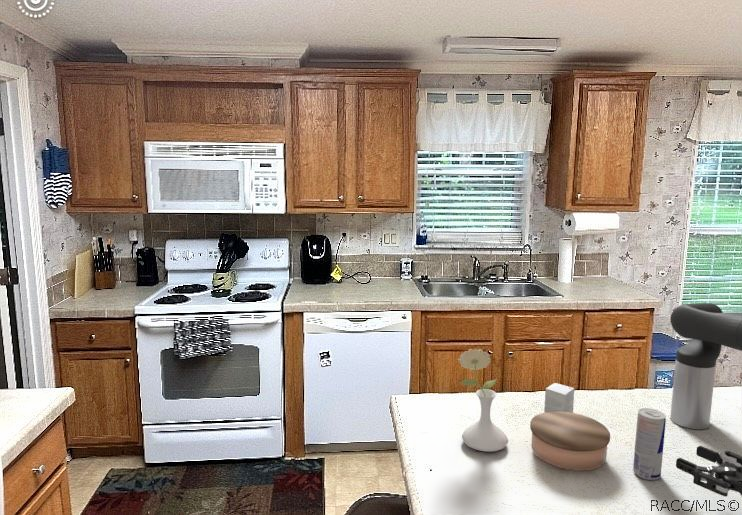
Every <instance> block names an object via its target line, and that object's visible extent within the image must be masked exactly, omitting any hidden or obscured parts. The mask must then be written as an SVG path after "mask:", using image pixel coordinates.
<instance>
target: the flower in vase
mask: <svg viewBox="0 0 742 515" xmlns="http://www.w3.org/2000/svg"><path fill="white" fill-rule="evenodd" d="M457 360H458V362H459V364H460V366H461V367H462V368H463V369H465V370H466V369H468V370H469V371H474V378H475V380H473V379H471V378H466V379H464V380H462V381H461V382H460V383H459V385H464V386H468V387H473V386H475V385H476V384H477V385H478V387H479V388H480V389H477V390H476V391H475V394H476V396H477V397H478V400H479V402H480V418H479V420H478V421H476V422H474V423H472V424H471V425H469V426H468V427H466V428H465V429H464V431H463V432H462V434H461V438H462V439H461V440H463V442H464V444H465V445H467V446H468V447H469V448H470V449H474V450H476V451H481V452H487V453H488V452H497V451H501V450H503V449H504V448H505V447H506V446H507V445H508V444H509V443H508V442H509V439H508V436H507V434H506V433H505V431H504V430H502V429H501V428H500V427H499V426H497V424H495V423H494V422H492V419H491V407H492V402H493V401H494V399H495V398H496V396H497V392H496V391H494V390H492V389H491V388H493V387H494V386H495V385H496V384H497V380H498V379H497V378H495V379H493V380H488V381H485V383H484V384H483V385H482V386H481V385H480V383H479V382H478V379H477V378H478V377H477V370H482V369H485V368H487V366H489V364H490V363H491V362H492V361H491V357H490V354H489V353H488V352H487V351H483V349H482V348H479V349H478V348H474V349H472V348H469V349H468V351H467V350H464V352H461V354H460V356H459V358H457Z"/></svg>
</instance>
